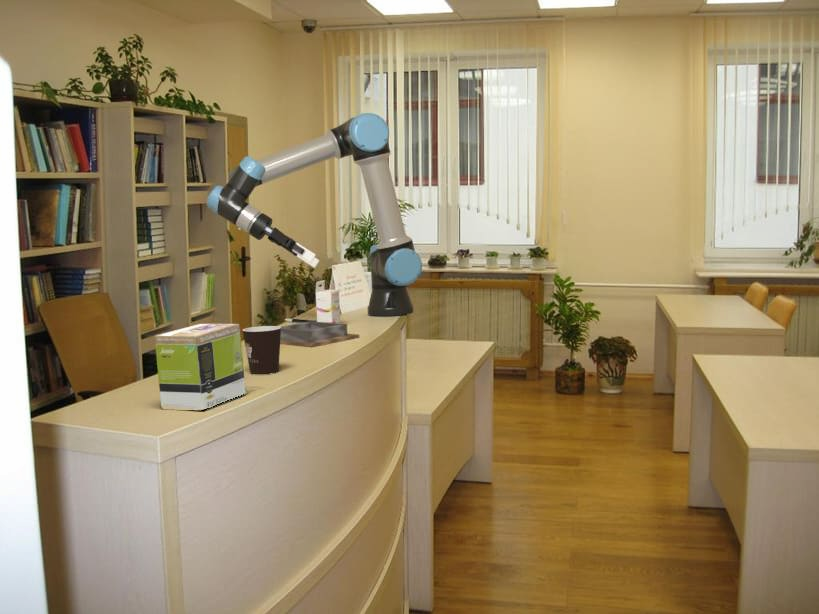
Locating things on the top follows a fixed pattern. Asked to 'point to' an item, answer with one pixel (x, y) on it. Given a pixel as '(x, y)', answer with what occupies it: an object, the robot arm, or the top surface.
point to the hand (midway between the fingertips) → (315, 261)
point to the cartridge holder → (314, 334)
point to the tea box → (200, 365)
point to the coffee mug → (263, 348)
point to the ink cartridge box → (327, 304)
